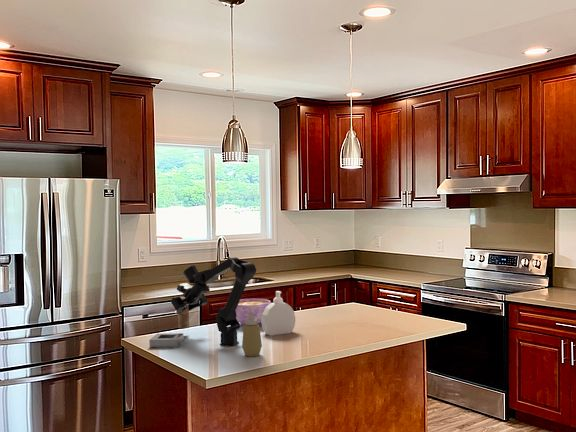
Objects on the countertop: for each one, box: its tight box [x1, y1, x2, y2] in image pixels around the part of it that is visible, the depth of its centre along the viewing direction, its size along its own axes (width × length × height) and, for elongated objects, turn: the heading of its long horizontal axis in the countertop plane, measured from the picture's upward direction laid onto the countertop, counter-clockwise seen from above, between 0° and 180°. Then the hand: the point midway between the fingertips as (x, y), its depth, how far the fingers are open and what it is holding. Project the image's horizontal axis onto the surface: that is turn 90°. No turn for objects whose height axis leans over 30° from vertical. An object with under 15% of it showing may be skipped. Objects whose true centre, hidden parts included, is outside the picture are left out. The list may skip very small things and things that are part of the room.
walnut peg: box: [177, 296, 190, 330], centre depth 277 cm, size 5×5×14 cm
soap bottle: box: [260, 290, 296, 337], centre depth 277 cm, size 16×5×20 cm, turn 119°
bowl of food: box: [236, 298, 272, 326], centre depth 299 cm, size 20×20×12 cm
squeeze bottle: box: [241, 311, 263, 358], centre depth 239 cm, size 8×8×18 cm
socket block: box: [148, 332, 185, 349], centre depth 260 cm, size 12×12×4 cm
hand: (181, 312), depth 278 cm, fingers closed on walnut peg, 5 cm apart
